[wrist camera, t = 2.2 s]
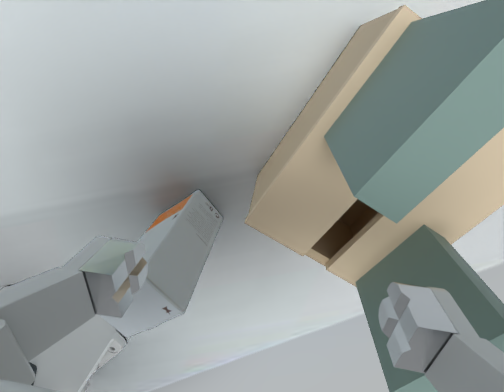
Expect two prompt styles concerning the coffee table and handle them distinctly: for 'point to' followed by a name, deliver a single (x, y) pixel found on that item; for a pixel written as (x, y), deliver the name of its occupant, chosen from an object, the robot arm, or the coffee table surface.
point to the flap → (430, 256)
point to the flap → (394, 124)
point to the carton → (314, 108)
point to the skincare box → (171, 264)
